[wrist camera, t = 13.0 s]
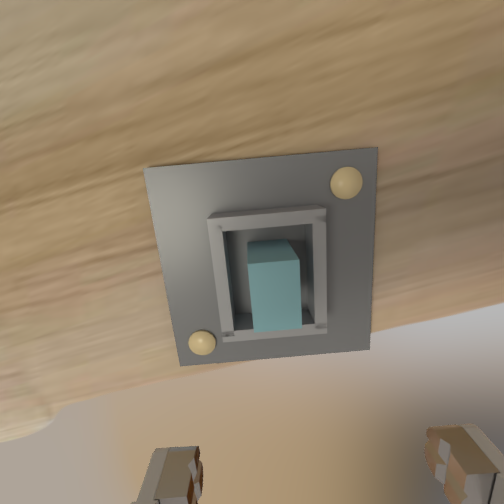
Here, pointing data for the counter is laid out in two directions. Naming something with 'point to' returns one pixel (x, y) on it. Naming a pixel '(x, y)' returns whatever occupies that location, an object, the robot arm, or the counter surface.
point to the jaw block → (274, 285)
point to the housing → (261, 229)
